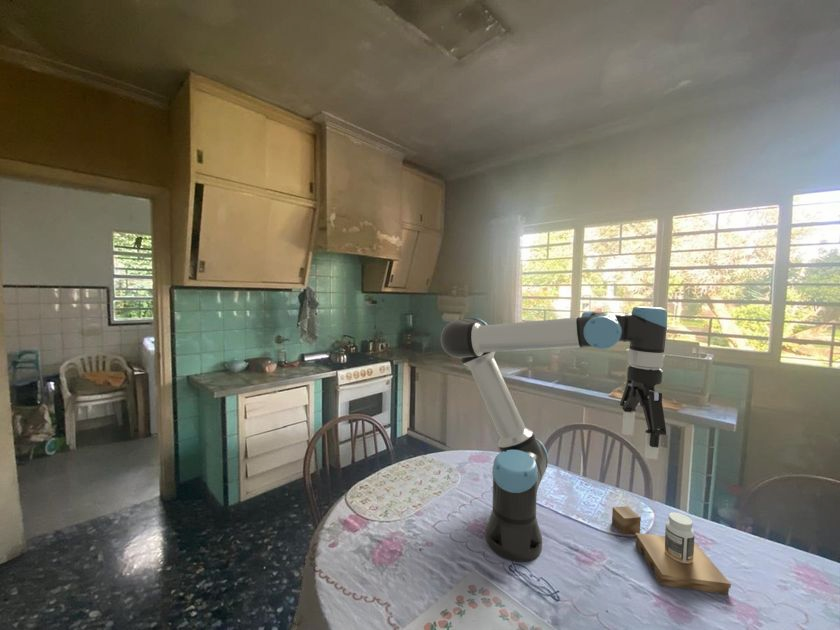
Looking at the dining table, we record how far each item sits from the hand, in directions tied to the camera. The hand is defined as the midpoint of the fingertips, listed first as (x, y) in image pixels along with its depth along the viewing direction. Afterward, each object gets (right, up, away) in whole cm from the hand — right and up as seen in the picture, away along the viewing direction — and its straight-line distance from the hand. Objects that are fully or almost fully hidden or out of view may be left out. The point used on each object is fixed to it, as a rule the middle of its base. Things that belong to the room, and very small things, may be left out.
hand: (638, 445), depth 89 cm
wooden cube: (+3, -28, +10) cm, 30 cm away
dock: (+7, -29, -4) cm, 30 cm away
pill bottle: (+7, -26, -4) cm, 28 cm away
